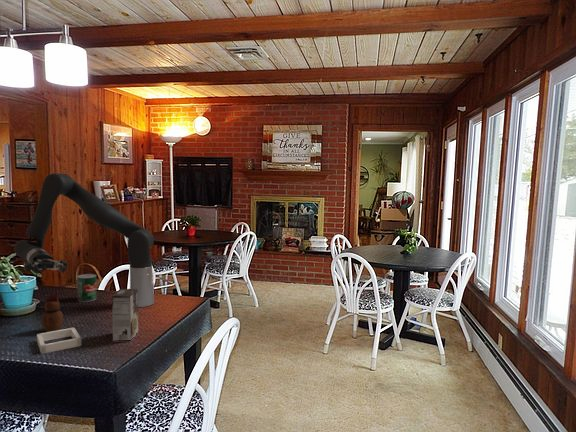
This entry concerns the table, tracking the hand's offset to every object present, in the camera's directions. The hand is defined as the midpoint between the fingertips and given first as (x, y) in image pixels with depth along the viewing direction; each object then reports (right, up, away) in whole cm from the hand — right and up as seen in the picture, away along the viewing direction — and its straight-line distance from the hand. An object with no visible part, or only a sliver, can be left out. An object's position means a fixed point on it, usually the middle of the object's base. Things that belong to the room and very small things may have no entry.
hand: (51, 270), depth 153 cm
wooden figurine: (+4, -21, -6) cm, 23 cm away
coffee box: (+32, -22, -10) cm, 41 cm away
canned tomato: (-2, -18, +32) cm, 37 cm away
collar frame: (+13, -22, -17) cm, 31 cm away
